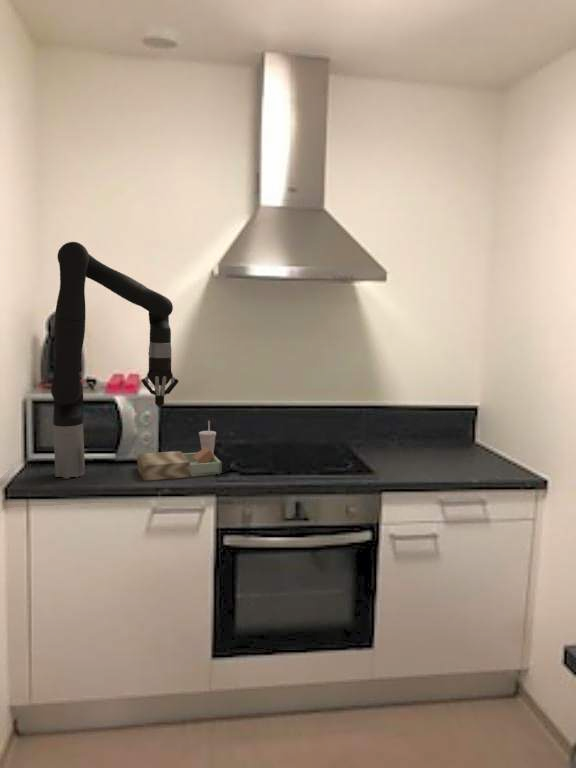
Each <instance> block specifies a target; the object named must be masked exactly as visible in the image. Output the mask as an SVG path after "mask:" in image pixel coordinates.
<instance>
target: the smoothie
mask: <svg viewBox="0 0 576 768" xmlns="http://www.w3.org/2000/svg"><path fill="white" fill-rule="evenodd" d="M207 424H208V425H207V426H208V429H207V430H201V431H199V432H198V436H199V440H200V449H201V450H202V449H203V448H204V447H206V448H208V449H209V450H210V451H211V452H212V453H213V454H214V450H215V444H216V436H217V432H216V431H214V430H211V420H208V421H207ZM201 450H200V451H201Z"/></svg>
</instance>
